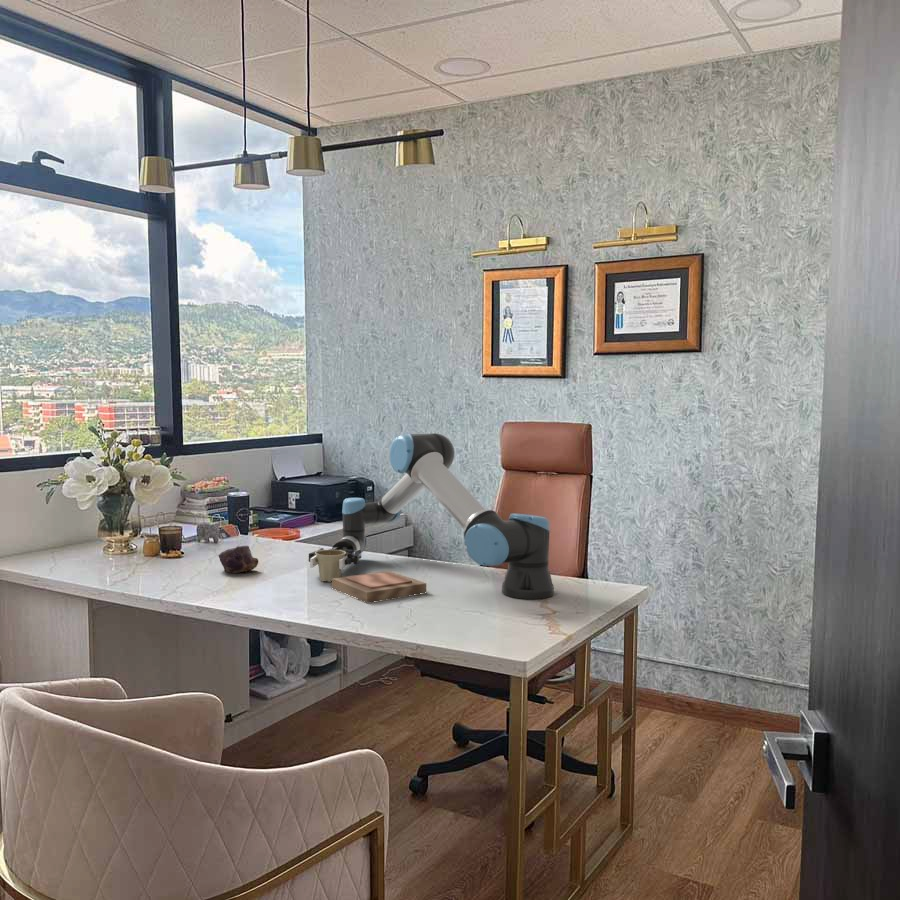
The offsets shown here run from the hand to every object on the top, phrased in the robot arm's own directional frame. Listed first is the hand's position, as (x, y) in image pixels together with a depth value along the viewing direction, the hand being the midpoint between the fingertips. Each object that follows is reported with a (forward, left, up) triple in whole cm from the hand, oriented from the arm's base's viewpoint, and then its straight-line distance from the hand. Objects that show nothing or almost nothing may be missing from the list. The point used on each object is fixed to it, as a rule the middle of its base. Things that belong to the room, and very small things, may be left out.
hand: (325, 563), depth 253 cm
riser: (-8, +17, -6) cm, 20 cm away
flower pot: (-3, -3, -6) cm, 8 cm away
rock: (+16, -29, -6) cm, 34 cm away
